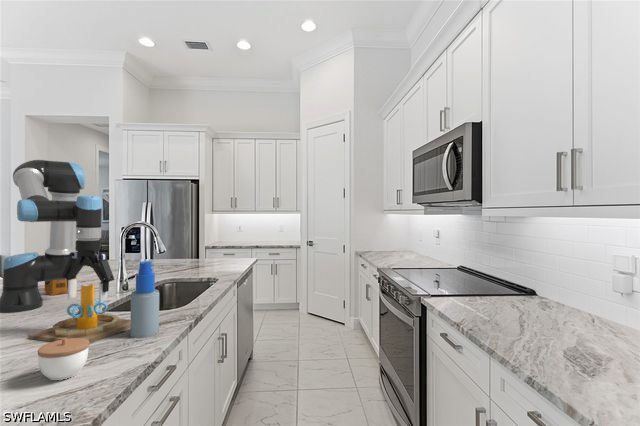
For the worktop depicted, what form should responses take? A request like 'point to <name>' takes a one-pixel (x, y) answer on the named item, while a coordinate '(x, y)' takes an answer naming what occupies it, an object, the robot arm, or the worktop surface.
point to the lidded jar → (63, 358)
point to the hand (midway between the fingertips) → (87, 299)
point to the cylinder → (87, 308)
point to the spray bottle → (145, 304)
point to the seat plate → (49, 336)
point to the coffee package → (56, 287)
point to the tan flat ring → (88, 331)
